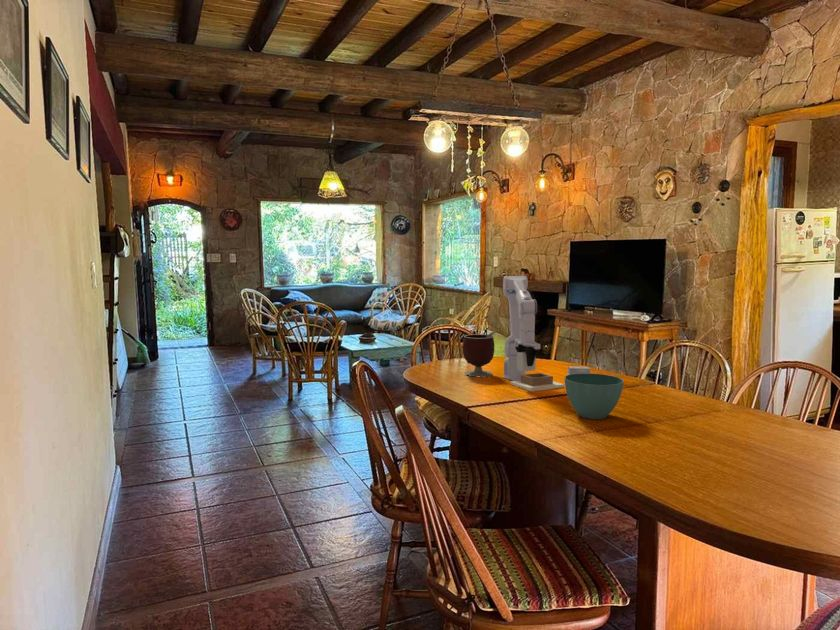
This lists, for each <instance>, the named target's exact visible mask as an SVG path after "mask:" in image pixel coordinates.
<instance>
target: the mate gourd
mask: <svg viewBox="0 0 840 630" xmlns="http://www.w3.org/2000/svg"><path fill="white" fill-rule="evenodd" d="M498 332H499V330H494V331H491V332H489V334H481V333H479V334H476V333H475V334H466V335H463V339H462V353H463V354H462V355H463V359H464V360H465V361H466V362H467V364H470V365H472V366H473V367H474V370H466V371H465V372H464V375H465V374H466V375H470V376H481V377H480V378H484V377H483V376H489V377H492V376H493V372H492V371H489V370H483V367H484V366H485V365H488V364H490V363H491V362H492V360H493V358H494V356H495V341H494V340H495V339H494V336H493V335H494V334H496V333H498ZM466 375H465V376H466ZM491 375H492V376H491Z"/></svg>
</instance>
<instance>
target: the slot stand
mask: <svg viewBox="0 0 840 630" xmlns="http://www.w3.org/2000/svg"><path fill="white" fill-rule="evenodd" d="M510 384H511V385H510ZM509 385H510V386H513V385H514V386H513V387H517V388H519V387H520V388H519V389H522V388H523V389H522V390H525V389H526V390H525V391H528V392H538V391H546V390H553V389H561V388H563V389H564V388H565V383H561V382H557V381H554V376H553V375H550V374H546V373H543V372H538V373H537V372H536V373H535V372H534V373H527V374H525V375H521V380H519V381H513V380H510V381H509Z"/></svg>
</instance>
